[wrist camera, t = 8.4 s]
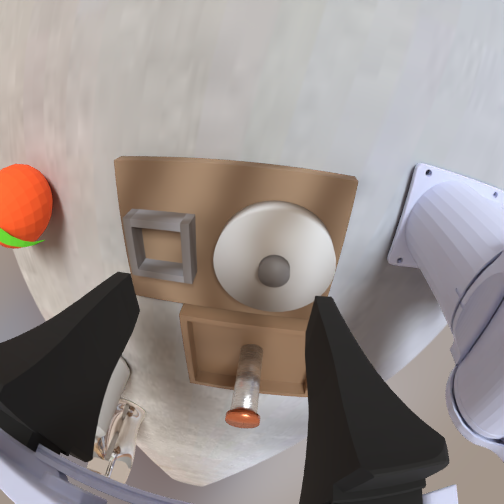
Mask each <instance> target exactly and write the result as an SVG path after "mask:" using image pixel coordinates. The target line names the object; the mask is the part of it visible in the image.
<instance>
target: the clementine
mask: <svg viewBox="0 0 504 504" xmlns="http://www.w3.org/2000/svg"><path fill="white" fill-rule="evenodd" d="M52 203H53V199H52V193H51V189H50V186H49V184H48V182H47V180H46V178H45V177H44V176H43V174H42V173H40V172H39V171H38V170H37V169H35V168H33V167H31V166H29V165H23V164H14V165H11V166H8V167H6V168H3V169H2V170H1V171H0V245H2V246H4V247H8V248H21V247H27V246H32V245H35V244H38V243H40V242H42V241H44V240H41V241H36V240H37V239H38V238H39V237H40V236H41V234H42V233H43V232H44V230H45V229H46V228H47V225H48V223H49V221H50V217H51V214H52ZM34 241H36V242H34Z"/></svg>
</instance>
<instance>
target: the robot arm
mask: <svg viewBox="0 0 504 504" xmlns="http://www.w3.org/2000/svg"><path fill="white" fill-rule="evenodd" d="M427 170H430V172H429V174H428V175H426V171H427ZM494 193H495V194H494ZM493 194H494V196H493ZM398 258H401V259H400V260H397V259H398ZM387 260H388V262H389V264H391V265H397V266H405V267H413V268H420V270H421V272H422V274H423V276H424V277H425V279H426V281H427V283H428V285H429V287H430V289H431V290H432V292H433V294H434V296H435V298H436V300H437V302H438V304H439V306H440V308H441V310H442V312H443V314H444V316H445V319H446V321H447V323H448V325H449V327H450V329H451V331H452V333H453V336H454V342H453V345H452V346H451V348H450V351H451V354H452V356H453V359H454V361H455V364H456V366H455V367H454V369H453V370H452V371H451V373H450V375H449V377H448V381H447V384H446V404H447V408H448V412H449V415H450V417H451V419H452V422H453V423H454V425H455V427H456V428H457V430H458V431H459V432H460V433H461V434H462V435H463V436H464V437H465V438H466V439H467V440H469V441H470V442H472V443H474V444H476V445H479V446H482V447H485V448H488V449H490V450H492V451H493V452H494V453H496V454H497V455H498V456H499V458H500V459H501V460H502V461H503V462H504V191H503V190H500V189H498V188H495V187H493V186H490V185H488V184H485V183H482V182H479V181H477V180H474V179H471V178H468V177H465V176H463V175H460V174H457V173H454V172H450V171H447V170H444V169H441V168H438V167H434V166H431V165H427V164H424V163H419V164H417V165H416V166H415V169H414V173H413V177H412V181H411V184H410V188H409V192H408V195H407V199H406V202H405V205H404V209H403V212H402V215H401V218H400V221H399V225H398V228H397V231H396V234H395V237H394V240H393V242H392V245H391V248H390V251H389V254H388V256H387ZM139 312H140V309H139V305H138V301H137V298H136V294H135V290H134V286H133V282H132V278H131V274H129V273H122V272H117V273H115V274H114V275H112V276H111V277H109V278H108V279H107V280H105V281H104V282H102V283H101V284H100V285H98V286H97V287H96V288H94V289H93V290H91V291H90V292H89V293H87V294H86V295H85V296H83V297H82V298H81V299H79V300H78V301H76V302H75V303H73V304H72V305H71V306H69V307H68V308H66V309H65V310H63V311H62V312H61V313H59V314H57V315H56V316H54V317H53V318H51V319H50V320H48V321H46V322H44V323H43V324H41V325H40V326H37V327H36V328H34V329H31V330H30V331H27V332H25V333H23V334H21V335H19V336H17V337H15V338H12V339H10V340H7V341H5V342H2V343H0V489H1V490H2V491H3V492H4V493H5V494H6V495H7V496H8V497H9V498H10V499H11V500H12V501H13V502H14V503H15V504H107V500H106V499H104V498H101V497H99V496H97V495H95V494H93V493H91V492H88V491H86V490H84V489H82V488H80V487H77V486H75V485H73V484H71V483H69V481H68V479H67V476H66V475H68V476H70V477H71V478H73V479H75V480H77V481H79V482H81V483H84V484H85V485H88V486H90V487H92V488H94V489H97V490H99V491H101V492H103V493H106V494H108V495H111V496H113V497H116V498H118V499H121V500H124V501H126V502H129V503H132V504H194V503H189V502H184V501H180V500H176V499H172V498H168V497H164V496H160V495H157V494H153V493H150V492H146V491H144V490H140V489H137V488H134V487H131V486H129V485H126V484H123V483H120V482H118V481H115V480H112V479H110V478H107V477H105V476H103V475H100V474H98V473H95V472H93V471H91V470H89V469H87V468H84V467H82V466H80V465H78V464H76V463H74V462H72V461H70V460H68V459H66V458H64V457H62V456H60V452H61V453H63V454H64V455H66V456H69V454H70V455H72V456H74V457H76V458H78V459H80V460H82V461H84V462H89V461H91V460H93V451H94V443H95V435H96V430H97V425H98V420H99V415H100V411H101V407H102V404H103V400H104V396H105V393H106V390H107V387H108V384H109V381H110V378H111V376H112V373H113V371H114V369H115V367H116V365H117V363H118V361H119V359H120V357H121V355H122V353H123V351H124V349H125V346H126V344H127V342H128V340H129V338H130V336H131V334H132V332H133V329H134V327H135V324H136V321H137V318H138V315H139ZM305 365H306V377H307V390H308V404H309V420H308V437H307V450H306V460H305V468H304V477H303V483H302V490H301V496H300V502H299V504H458V495H457V487H456V485H451V486H448V487H445V488H442V489H439V490H436V491H432V492H429V493H427V494H423V495H422V488H425V486H426V481H425V478H427V477H429V476H431V475H433V474H435V473H437V472H438V471H440V470H442V469H444V468H445V467H446V466H447V465H448V464H449V456H448V450H447V445H446V441H445V438H444V437H443V436H441V435H440V434H439V433H438V432H436V431H435V430H434V429H432V428H431V427H430V426H429V425H427V424H426V423H425V422H424V421H422V420H421V419H420V418H419V417H418V416H417V415H416V414H414V413H413V412H412V411H411V410H410V409H409V408H408V407H407V406H406V405H405V404H404V403H403V402H402V401H401V399H400V398H399V397H397V395H396V394H395V393H394V392H393V391H392V390H391V389H390V388H389V386H388V385H387V384H386V383H385V382H384V380H383V379H382V378H381V376H380V375H379V374H378V373H377V371H376V370H375V369H374V367H373V366H372V364H371V363H370V362H369V360H368V359H367V357H366V356H365V354H364V353H363V351H362V350H361V348H360V346H359V345H358V343H357V342H356V340H355V338H354V337H353V335H352V333H351V332H350V330H349V328H348V326H347V325H346V323H345V321H344V319H343V317H342V315H341V313H340V312H339V310H338V308H337V306H336V304H335V302H334V300H333V298H332V297H326V296H315V299H314V303H313V307H312V310H311V314H310V318H309V321H308V325H307V329H306V333H305ZM65 474H66V475H65Z"/></svg>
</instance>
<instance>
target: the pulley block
mask: <svg viewBox="0 0 504 504" xmlns="http://www.w3.org/2000/svg"><path fill="white" fill-rule="evenodd" d="M114 166H115V176H116V185H117V194H118V202H119V209H120V216H121V222H122V229H123V235H124V241H125V246H126V252H127V257H128V262H129V267H130V272H131V276H132V281H133V285H134V290H135V294H136V295H139V296H144V297H150V298H155V299H161V300H167V301H173V302H178V303H185V304H191V305H197V306H204V307H210V308H217V309H224V310H231V311H239V312H246V313H254V314H263V315H271V316H280V317H289V318H299V319H309V318H310V314H311V310H312V307H313V303H314V299H315V296H326V297H328V294H329V291H330V287H331V284H332V281H333V278H334V274H335V271H336V267H337V264H338V260H339V257H340V253H341V250H342V246H343V242H344V239H345V235H346V231H347V227H348V223H349V219H350V215H351V211H352V207H353V203H354V199H355V195H356V190H357V186H358V180H357V179H356V178H355V177H354V176H349V175H343V174H337V173H331V172H325V171H318V170H311V169H304V168H297V167H289V166H281V165H273V164H264V163H254V162H244V161H232V160H219V159H204V158H184V157H150V156H121V157H119V158H117V159H116V160H114Z"/></svg>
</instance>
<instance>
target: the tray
mask: <svg viewBox="0 0 504 504" xmlns="http://www.w3.org/2000/svg"><path fill="white" fill-rule="evenodd" d="M179 317H180V324H181V331H182V338H183V344H184V350H185V356H186V362H187V368H188V373H189V379H190V383H195V384H200V385H206V386H211V387H217V388H224V389H230V390H234V387H235V381H236V375H237V369H238V363H239V357H240V351H241V347H242V346H244V345H246V344H255V345H258V346H260V347H261V348H262V349H263V359H262V369H261V379H260V389H259V393H262V394H272V395H283V396H297V397H308V390H307V377H306V365H305V333H306V329H307V325H308V321H309V319H299V318H289V317H280V316H271V315H263V314H254V313H246V312H239V311H231V310H224V309H217V308H210V307H204V306H197V305H191V304H185V303H184V304H183V306H182V309H181V311H180V314H179Z"/></svg>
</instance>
